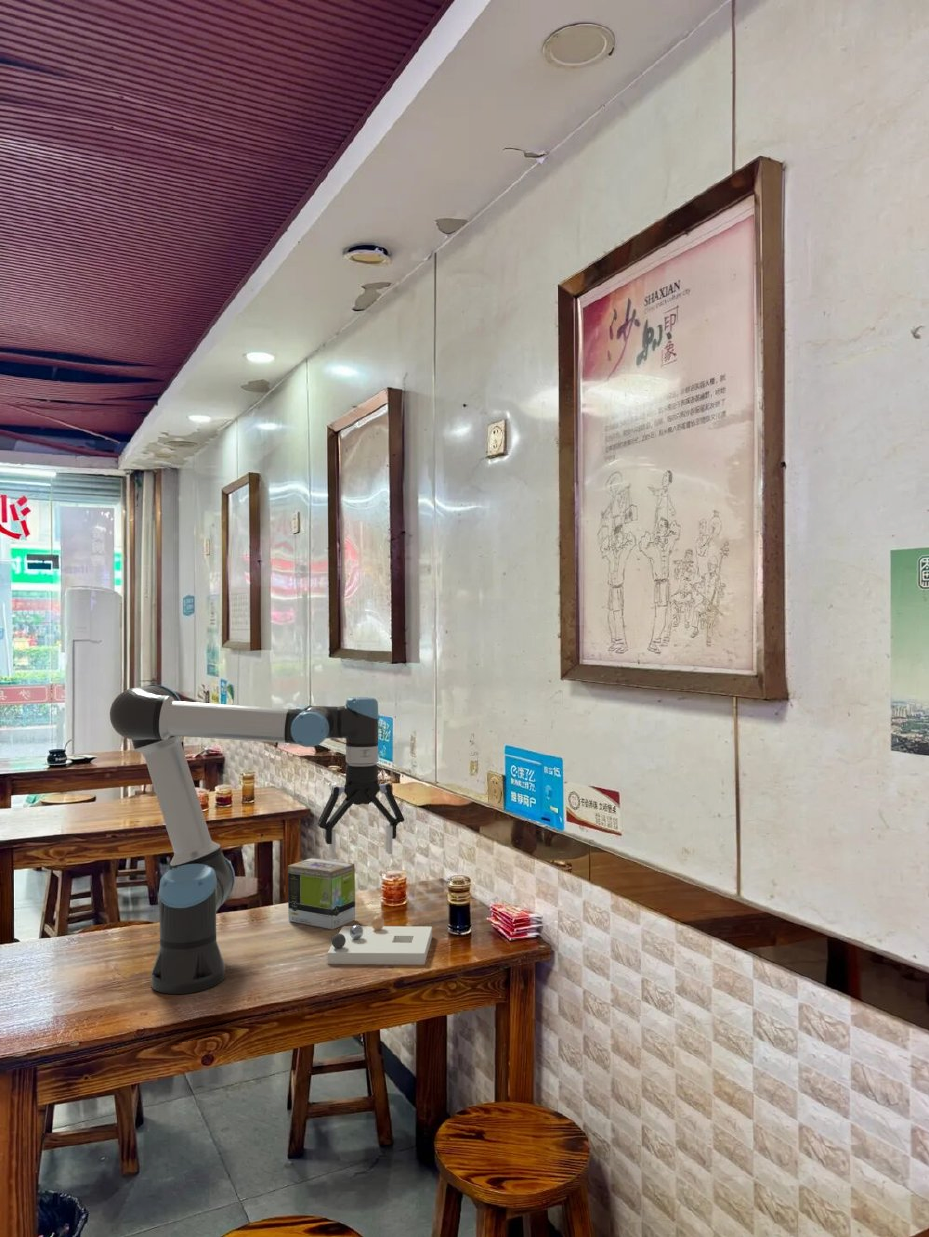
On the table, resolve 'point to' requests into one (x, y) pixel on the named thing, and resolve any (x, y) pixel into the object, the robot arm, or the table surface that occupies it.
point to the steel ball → (356, 932)
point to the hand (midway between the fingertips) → (361, 855)
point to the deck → (383, 946)
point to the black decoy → (338, 940)
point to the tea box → (321, 893)
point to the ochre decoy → (377, 923)
